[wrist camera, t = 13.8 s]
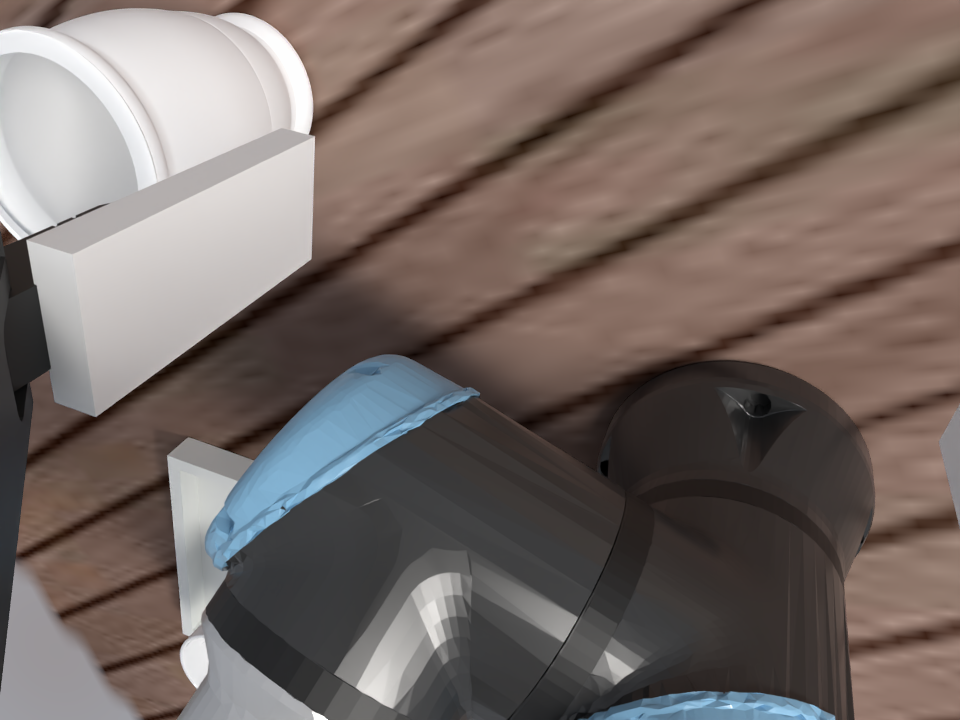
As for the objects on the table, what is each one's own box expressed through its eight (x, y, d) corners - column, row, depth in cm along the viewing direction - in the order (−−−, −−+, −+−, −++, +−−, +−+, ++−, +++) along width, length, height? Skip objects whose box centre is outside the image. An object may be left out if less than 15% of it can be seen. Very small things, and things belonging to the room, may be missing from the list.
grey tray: (429, 522, 58) (415, 545, 56) (405, 696, 69) (392, 720, 67) (188, 437, 62) (167, 455, 60) (200, 612, 73) (182, 633, 71)
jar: (345, 186, 47) (183, 288, 35) (197, 180, 51) (1, 271, 38) (316, -13, 42) (115, 23, 30) (154, -6, 46) (-87, 30, 33)
